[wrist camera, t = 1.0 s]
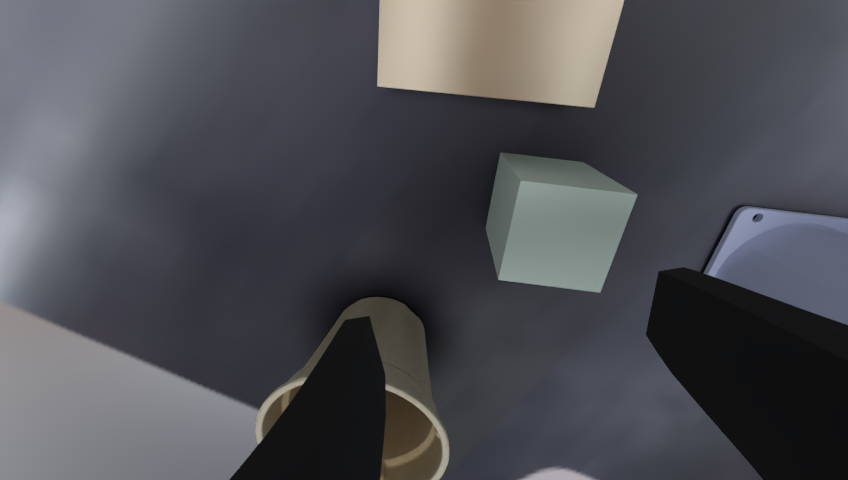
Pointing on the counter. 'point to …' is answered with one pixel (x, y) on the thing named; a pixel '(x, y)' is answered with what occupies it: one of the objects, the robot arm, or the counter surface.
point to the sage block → (555, 222)
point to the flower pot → (387, 392)
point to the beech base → (498, 47)
